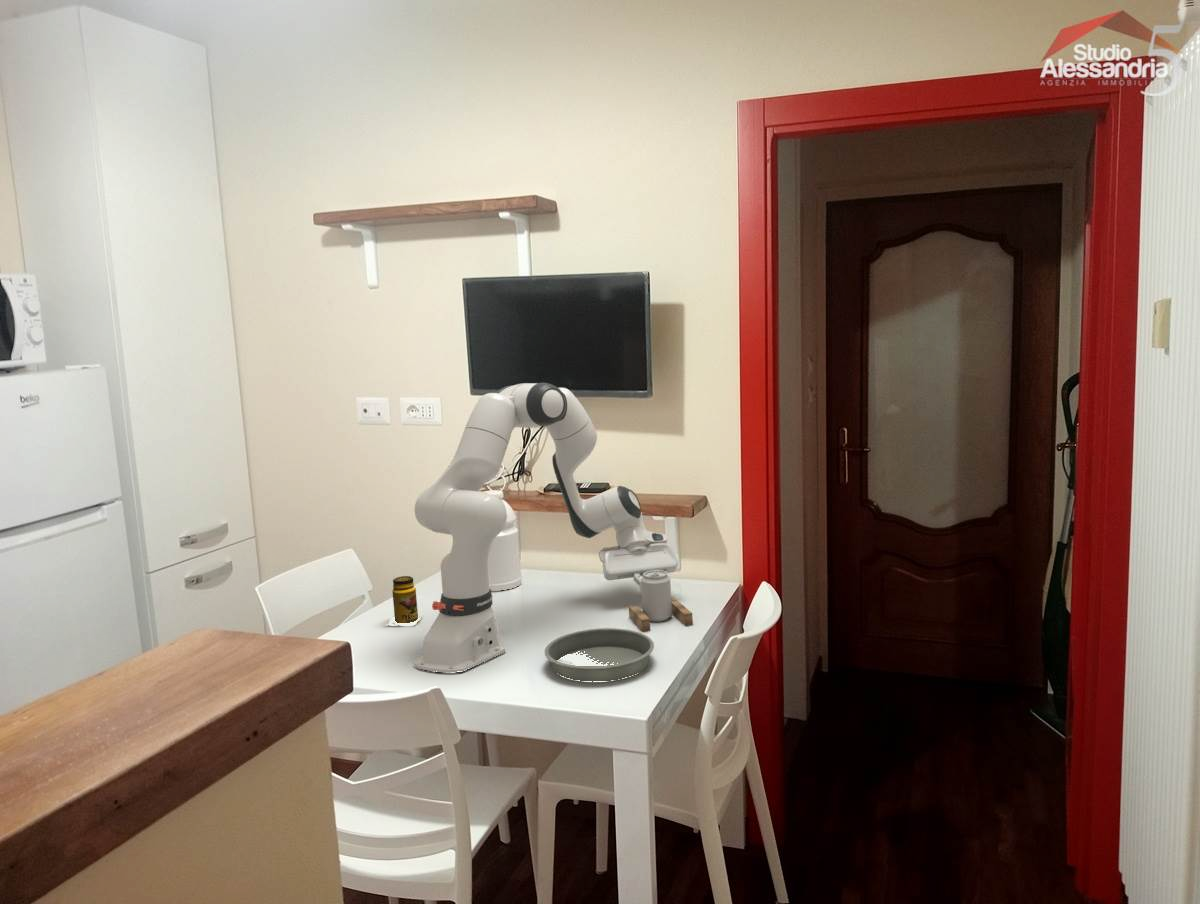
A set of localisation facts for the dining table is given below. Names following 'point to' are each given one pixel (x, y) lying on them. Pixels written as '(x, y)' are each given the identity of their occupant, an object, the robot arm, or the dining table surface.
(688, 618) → the parallel wooden bars
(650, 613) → the can
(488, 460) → the robot arm
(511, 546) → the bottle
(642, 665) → the cake pan
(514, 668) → the dining table surface
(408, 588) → the condiment
